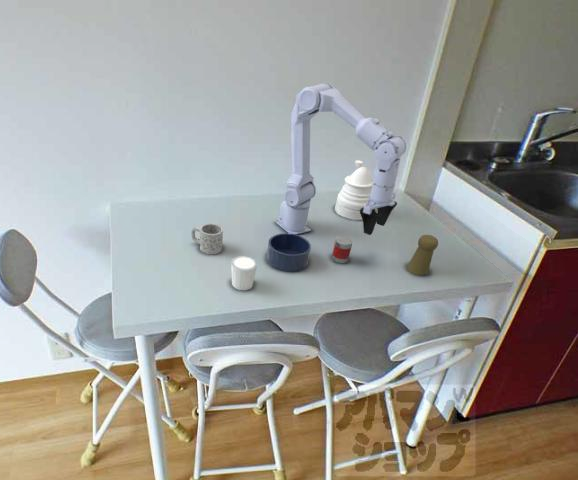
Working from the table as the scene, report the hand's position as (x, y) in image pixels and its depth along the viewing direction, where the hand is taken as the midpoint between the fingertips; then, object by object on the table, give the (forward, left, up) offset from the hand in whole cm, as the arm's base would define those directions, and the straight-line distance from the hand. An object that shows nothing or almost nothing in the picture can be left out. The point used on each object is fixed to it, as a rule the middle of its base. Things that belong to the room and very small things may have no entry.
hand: (374, 229), depth 121 cm
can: (-3, -8, -10) cm, 13 cm away
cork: (+11, +10, -10) cm, 18 cm away
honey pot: (-26, +17, -10) cm, 33 cm away
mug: (-25, -42, -10) cm, 50 cm away
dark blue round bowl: (-9, -23, -10) cm, 26 cm away
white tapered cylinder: (-4, -41, -10) cm, 42 cm away
